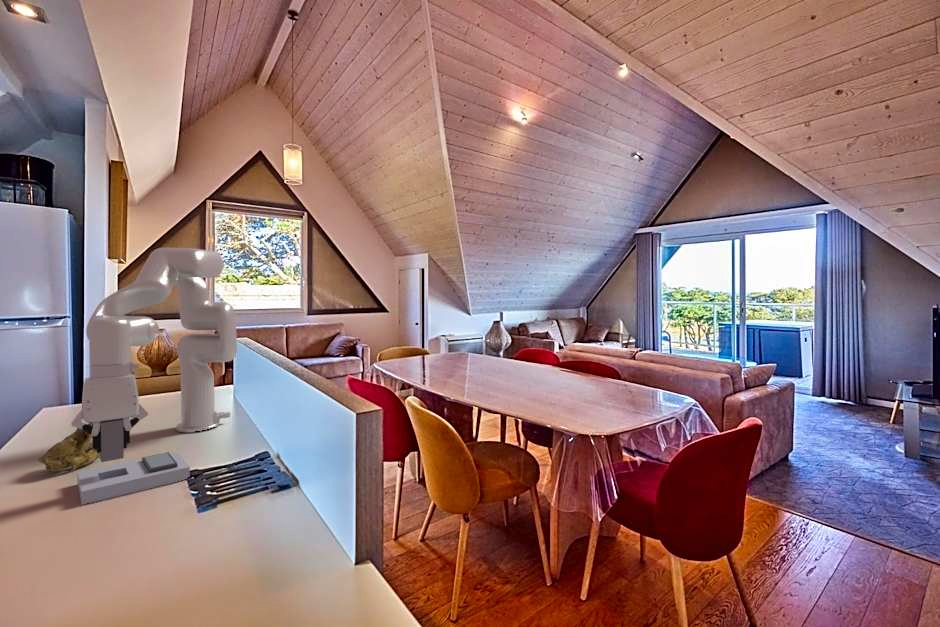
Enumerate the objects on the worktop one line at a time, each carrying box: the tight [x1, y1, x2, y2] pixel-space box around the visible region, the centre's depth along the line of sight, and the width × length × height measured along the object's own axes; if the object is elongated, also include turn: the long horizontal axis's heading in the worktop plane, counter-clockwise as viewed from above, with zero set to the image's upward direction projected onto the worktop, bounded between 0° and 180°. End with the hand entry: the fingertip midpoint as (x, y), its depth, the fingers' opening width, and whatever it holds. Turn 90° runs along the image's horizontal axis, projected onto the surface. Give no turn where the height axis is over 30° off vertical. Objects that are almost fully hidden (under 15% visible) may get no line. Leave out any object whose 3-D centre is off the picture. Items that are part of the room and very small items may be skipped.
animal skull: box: [38, 423, 100, 472], centre depth 116 cm, size 9×16×10 cm, turn 163°
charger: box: [99, 419, 125, 463], centre depth 103 cm, size 4×4×9 cm
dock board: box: [76, 451, 191, 506], centre depth 107 cm, size 20×14×4 cm
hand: (111, 448), depth 103 cm, fingers closed on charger, 4 cm apart
